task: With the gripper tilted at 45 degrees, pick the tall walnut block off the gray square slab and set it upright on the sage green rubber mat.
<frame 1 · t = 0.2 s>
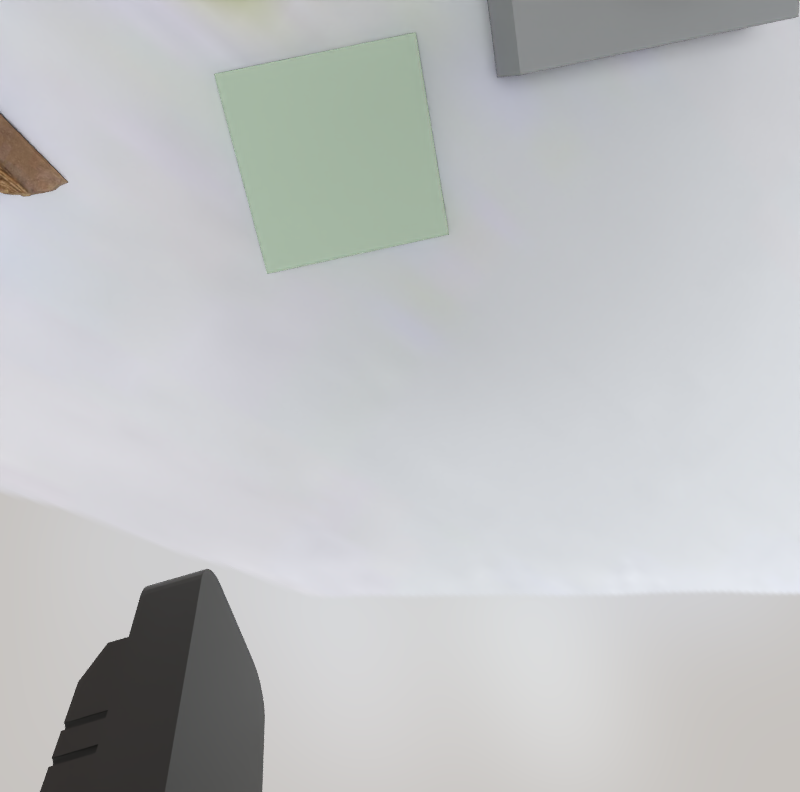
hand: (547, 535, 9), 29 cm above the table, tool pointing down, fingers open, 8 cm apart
mat: (337, 157, 35), on the table
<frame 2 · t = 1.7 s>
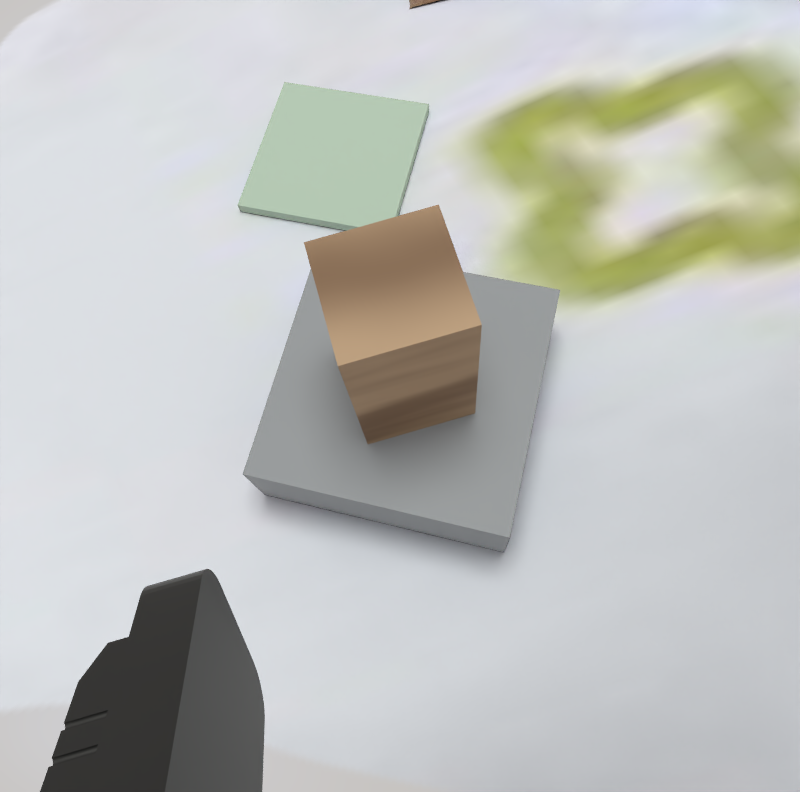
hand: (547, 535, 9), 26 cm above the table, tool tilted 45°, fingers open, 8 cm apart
walnut block: (406, 379, 34), point 4 cm above the table, touching gray square slab
mat: (336, 160, 43), on the table
gray square slab: (411, 408, 38), on the table
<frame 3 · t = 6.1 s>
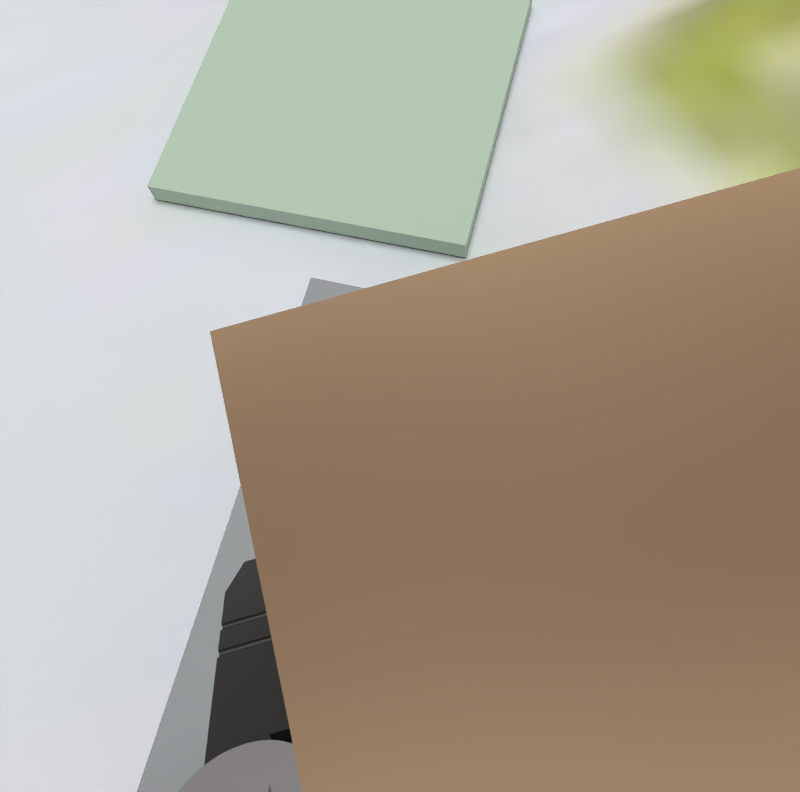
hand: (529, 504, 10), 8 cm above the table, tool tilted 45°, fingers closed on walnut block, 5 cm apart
walnut block: (546, 654, 12), point 4 cm above the table, touching gripper, gray square slab
mat: (350, 99, 22), on the table
gray square slab: (525, 659, 16), on the table
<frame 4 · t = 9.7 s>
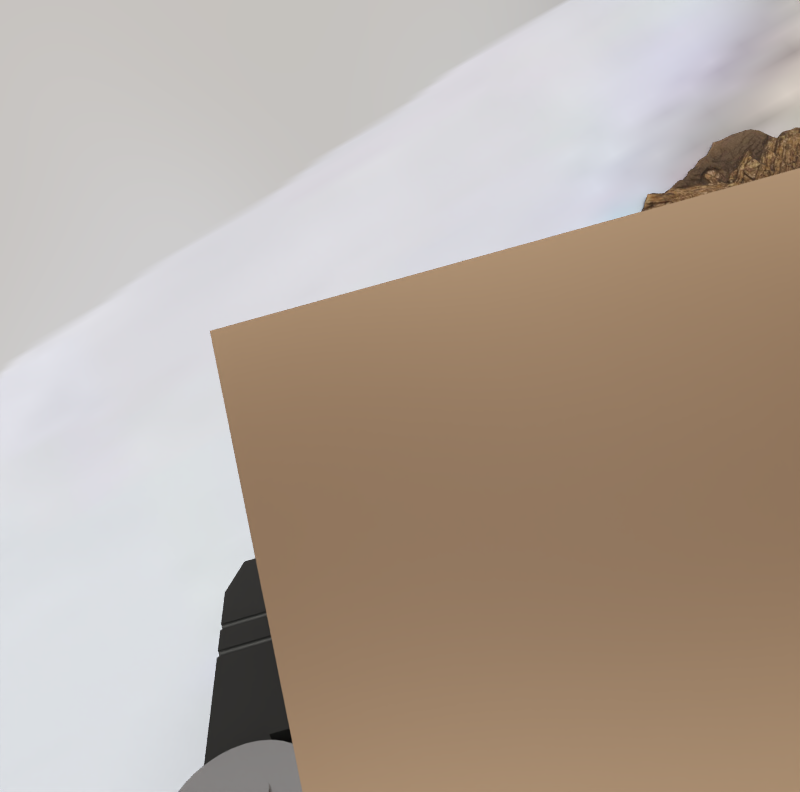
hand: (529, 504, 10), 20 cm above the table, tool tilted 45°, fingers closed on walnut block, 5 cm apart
walnut block: (546, 654, 12), point 16 cm above the table, touching gripper
when the fingers open (6 cm above the table, at t = 13.1 s): walnut block drops 1 cm, resting on mat.
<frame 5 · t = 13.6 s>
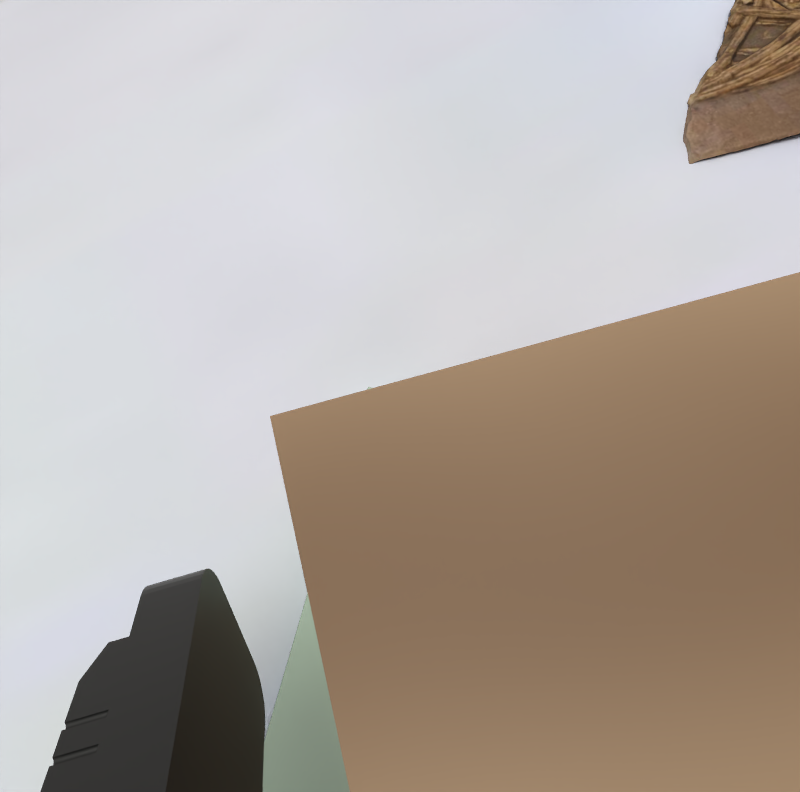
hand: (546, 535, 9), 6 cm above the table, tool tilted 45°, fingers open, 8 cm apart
walnut block: (539, 662, 14), point 1 cm above the table, touching mat
mat: (532, 658, 14), on the table
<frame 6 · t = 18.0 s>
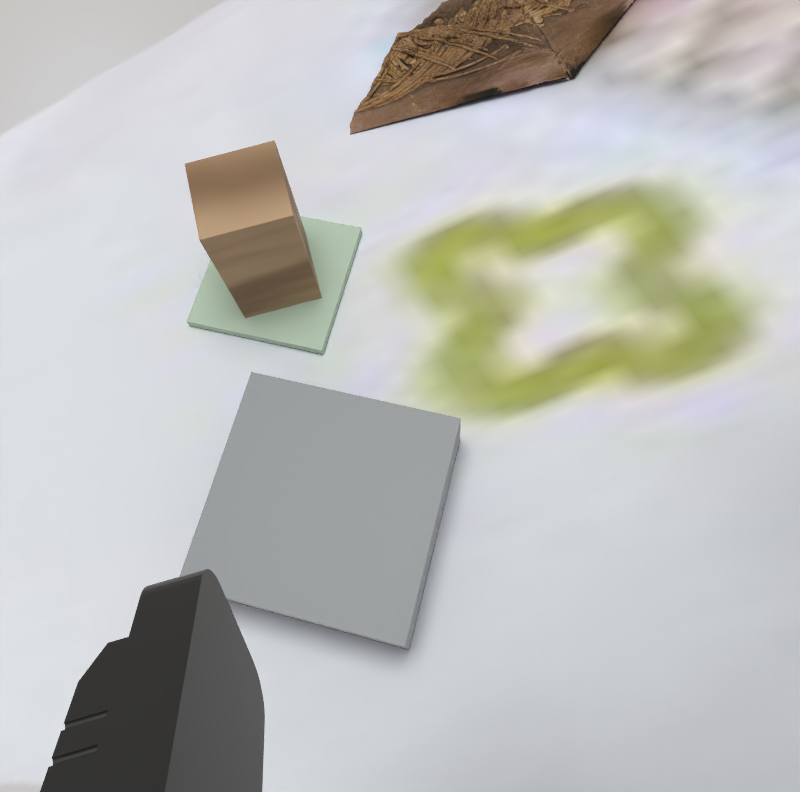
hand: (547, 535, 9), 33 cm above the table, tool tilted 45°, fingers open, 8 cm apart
wooden fragment: (498, 51, 54), on the table
walnut block: (275, 274, 48), point 1 cm above the table, touching mat
mat: (277, 278, 48), on the table
gray square slab: (333, 514, 43), on the table
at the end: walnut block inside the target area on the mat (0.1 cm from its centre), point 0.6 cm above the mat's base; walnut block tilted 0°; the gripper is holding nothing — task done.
